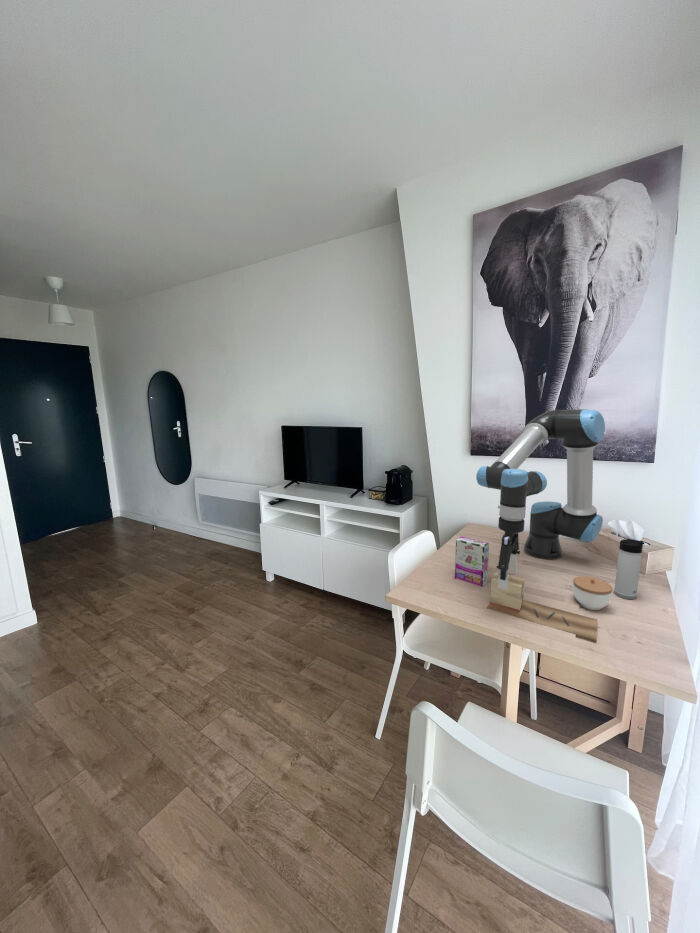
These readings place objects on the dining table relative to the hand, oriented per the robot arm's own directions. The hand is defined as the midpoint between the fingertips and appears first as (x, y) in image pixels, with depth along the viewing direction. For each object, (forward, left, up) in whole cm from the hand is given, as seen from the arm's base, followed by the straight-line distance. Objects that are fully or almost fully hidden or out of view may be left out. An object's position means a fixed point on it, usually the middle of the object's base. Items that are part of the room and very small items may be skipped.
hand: (507, 579), depth 119 cm
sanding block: (0, 0, -9) cm, 9 cm away
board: (0, +10, -10) cm, 14 cm away
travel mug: (-30, +33, -10) cm, 46 cm away
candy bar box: (-11, -15, -10) cm, 21 cm away
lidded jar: (-16, +23, -10) cm, 30 cm away
